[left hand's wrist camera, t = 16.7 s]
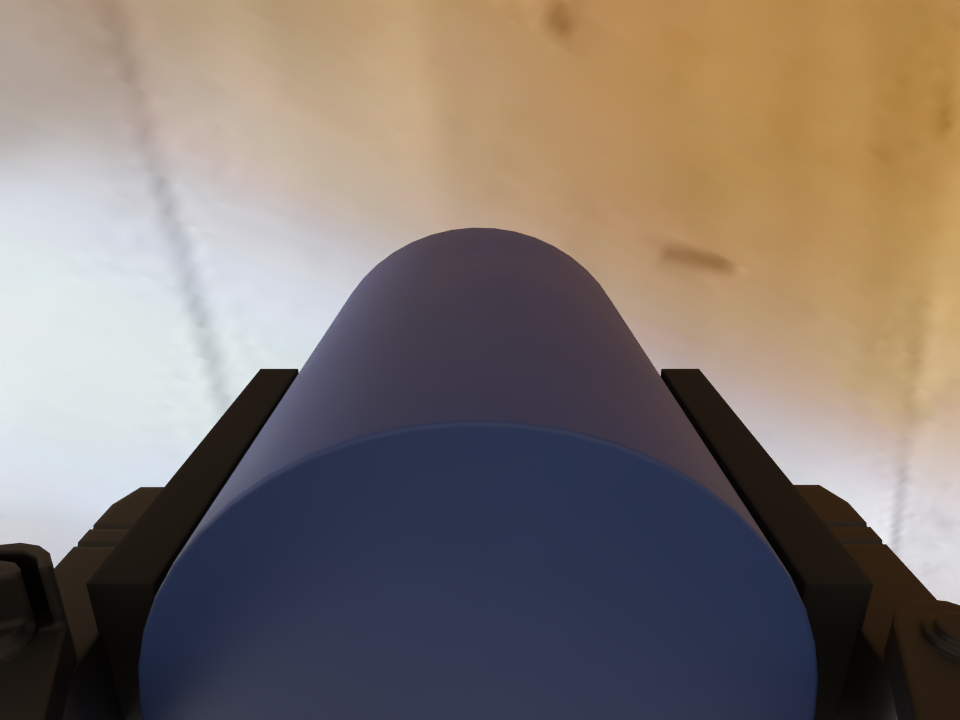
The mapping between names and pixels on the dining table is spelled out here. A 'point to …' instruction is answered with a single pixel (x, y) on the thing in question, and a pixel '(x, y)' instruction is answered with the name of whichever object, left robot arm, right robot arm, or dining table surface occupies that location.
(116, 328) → the dining table surface
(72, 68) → the dining table surface
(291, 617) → the can
